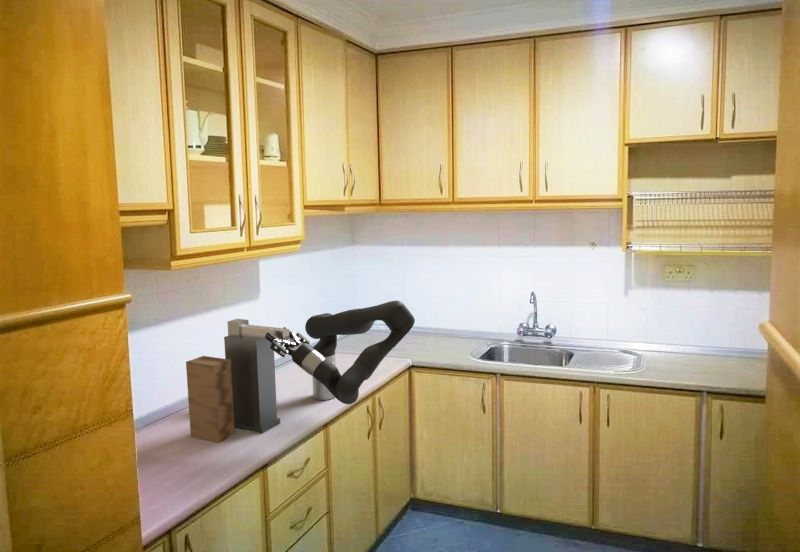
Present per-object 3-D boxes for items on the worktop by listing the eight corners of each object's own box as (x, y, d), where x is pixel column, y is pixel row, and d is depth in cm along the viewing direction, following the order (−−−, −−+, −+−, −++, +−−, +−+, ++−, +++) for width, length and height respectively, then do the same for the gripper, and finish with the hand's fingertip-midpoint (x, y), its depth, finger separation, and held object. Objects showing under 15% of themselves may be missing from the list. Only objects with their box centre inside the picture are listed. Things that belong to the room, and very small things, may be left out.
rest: (208, 428, 218) (203, 355, 214) (234, 434, 212) (230, 359, 209) (190, 436, 211) (185, 361, 207) (217, 442, 205) (213, 365, 202)
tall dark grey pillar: (245, 416, 229) (240, 330, 224) (280, 423, 222) (276, 334, 217) (225, 426, 220) (220, 336, 216) (262, 433, 213) (257, 341, 208)
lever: (238, 332, 222) (237, 318, 221) (290, 338, 211) (290, 324, 211) (228, 335, 217) (227, 321, 217) (281, 342, 207) (281, 327, 206)
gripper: (326, 346, 211) (291, 318, 216) (301, 356, 198) (265, 327, 203) (317, 363, 213) (283, 336, 218) (292, 374, 201) (256, 345, 206)
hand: (274, 331), depth 211 cm, fingers open, 8 cm apart
